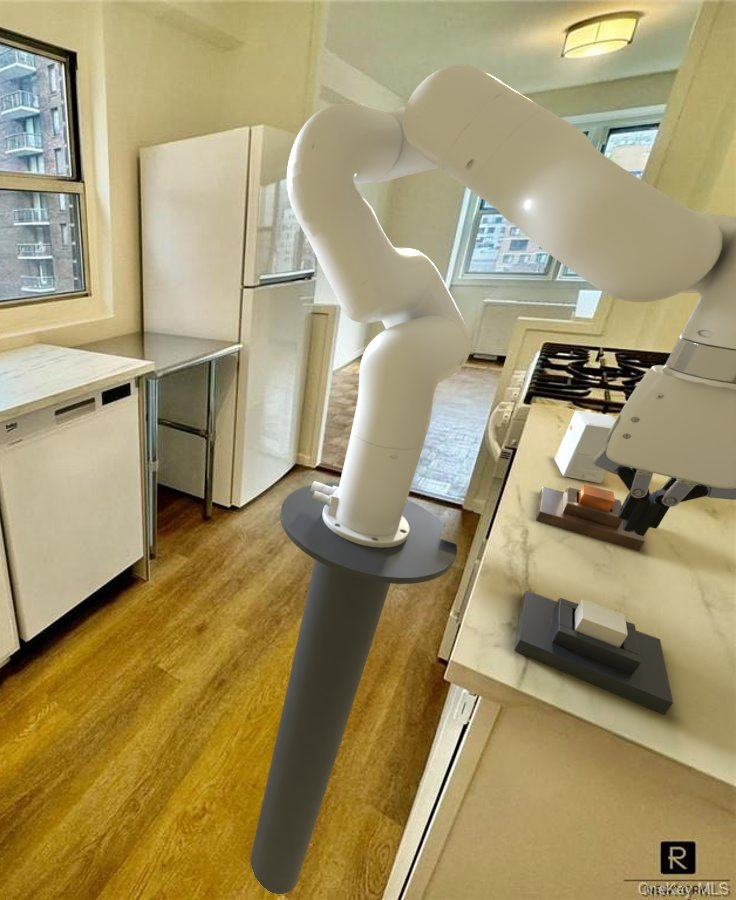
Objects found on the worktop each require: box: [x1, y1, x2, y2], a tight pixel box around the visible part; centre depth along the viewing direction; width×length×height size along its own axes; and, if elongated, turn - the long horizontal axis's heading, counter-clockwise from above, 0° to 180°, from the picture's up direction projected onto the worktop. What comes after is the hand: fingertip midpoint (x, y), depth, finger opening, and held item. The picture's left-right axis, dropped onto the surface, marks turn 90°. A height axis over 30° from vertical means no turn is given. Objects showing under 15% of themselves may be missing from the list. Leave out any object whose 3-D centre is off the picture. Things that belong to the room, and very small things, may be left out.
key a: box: [574, 599, 628, 648], centre depth 52 cm, size 4×4×2 cm
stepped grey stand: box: [514, 590, 674, 715], centre depth 53 cm, size 12×10×4 cm
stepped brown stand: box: [535, 486, 646, 552], centre depth 75 cm, size 12×10×4 cm
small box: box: [554, 410, 617, 484], centre depth 88 cm, size 8×6×10 cm
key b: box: [578, 484, 616, 512], centre depth 74 cm, size 4×4×2 cm
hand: (632, 527), depth 52 cm, fingers closed
